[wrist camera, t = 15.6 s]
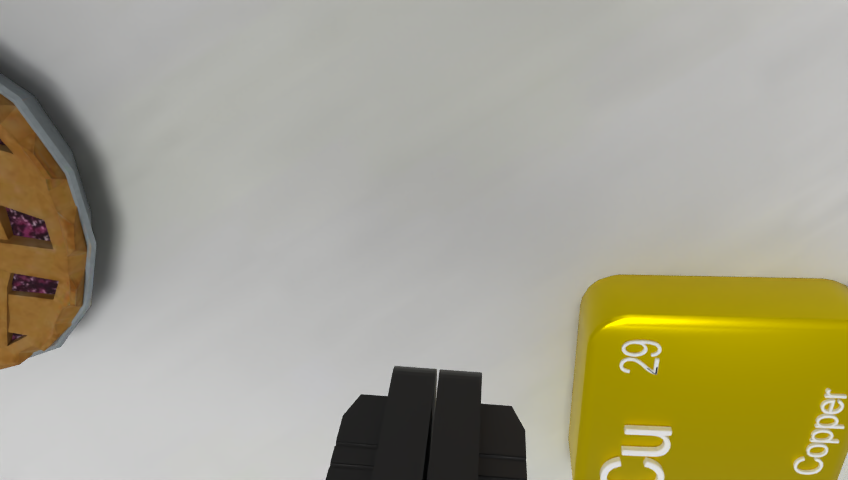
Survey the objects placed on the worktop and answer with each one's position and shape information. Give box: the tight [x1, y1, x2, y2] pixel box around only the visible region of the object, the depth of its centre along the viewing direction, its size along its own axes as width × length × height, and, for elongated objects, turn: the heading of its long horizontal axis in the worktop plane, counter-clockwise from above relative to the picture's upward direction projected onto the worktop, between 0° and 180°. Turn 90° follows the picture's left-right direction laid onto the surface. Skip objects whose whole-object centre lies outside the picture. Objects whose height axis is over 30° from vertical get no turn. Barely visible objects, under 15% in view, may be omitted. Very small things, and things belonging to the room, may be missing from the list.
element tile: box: [568, 275, 848, 480], centre depth 41 cm, size 15×15×5 cm
